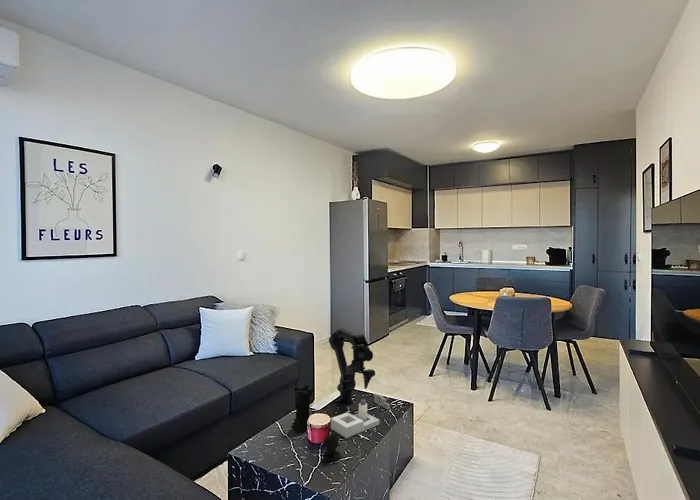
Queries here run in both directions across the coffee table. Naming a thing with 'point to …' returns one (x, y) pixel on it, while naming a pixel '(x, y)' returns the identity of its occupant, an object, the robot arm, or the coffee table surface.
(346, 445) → the coffee table surface
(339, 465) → the coffee table surface
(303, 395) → the chess piece
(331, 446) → the webcam
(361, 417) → the plug
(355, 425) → the jack housing
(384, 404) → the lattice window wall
